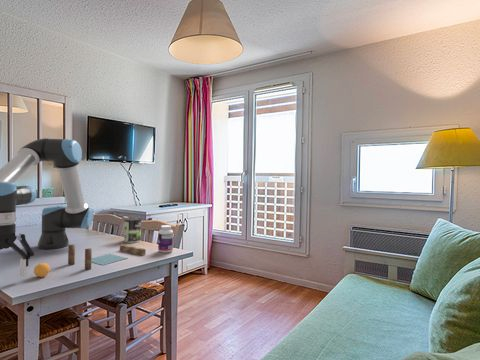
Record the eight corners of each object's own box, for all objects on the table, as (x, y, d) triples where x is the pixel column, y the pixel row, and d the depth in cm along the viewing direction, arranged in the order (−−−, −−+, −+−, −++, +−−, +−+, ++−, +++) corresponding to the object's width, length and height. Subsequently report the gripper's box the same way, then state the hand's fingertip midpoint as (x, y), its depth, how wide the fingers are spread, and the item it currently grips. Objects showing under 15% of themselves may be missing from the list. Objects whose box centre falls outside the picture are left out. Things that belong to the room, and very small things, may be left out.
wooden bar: (119, 250, 164) (119, 245, 164) (122, 249, 166) (122, 244, 166) (142, 255, 155) (142, 249, 155) (145, 254, 157) (145, 249, 157)
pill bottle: (159, 249, 168) (160, 224, 168) (173, 249, 169) (174, 224, 169) (156, 253, 160) (157, 227, 160) (171, 253, 161) (172, 227, 161)
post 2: (83, 269, 131) (83, 249, 130) (88, 267, 133) (89, 248, 133) (87, 270, 129) (87, 250, 129) (92, 268, 132) (92, 248, 131)
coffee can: (143, 239, 192) (144, 218, 191) (135, 243, 182) (135, 220, 181) (129, 238, 194) (130, 217, 193) (120, 242, 184) (120, 219, 183)
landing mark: (84, 260, 144) (84, 260, 144) (109, 254, 156) (109, 253, 156) (102, 265, 137) (102, 264, 137) (127, 258, 149) (127, 258, 149)
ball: (30, 277, 119) (31, 263, 119) (45, 273, 124) (45, 260, 124) (38, 280, 116) (38, 266, 116) (52, 276, 121) (52, 262, 121)
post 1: (66, 264, 137) (67, 245, 136) (72, 263, 139) (72, 244, 139) (70, 265, 135) (70, 246, 135) (75, 264, 138) (76, 245, 138)
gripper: (-38, 229, 95) (-39, 294, 96) (44, 220, 117) (43, 273, 117) (-47, 227, 99) (-48, 289, 99) (34, 218, 121) (33, 269, 121)
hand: (1, 280), depth 108 cm, fingers open, 13 cm apart
